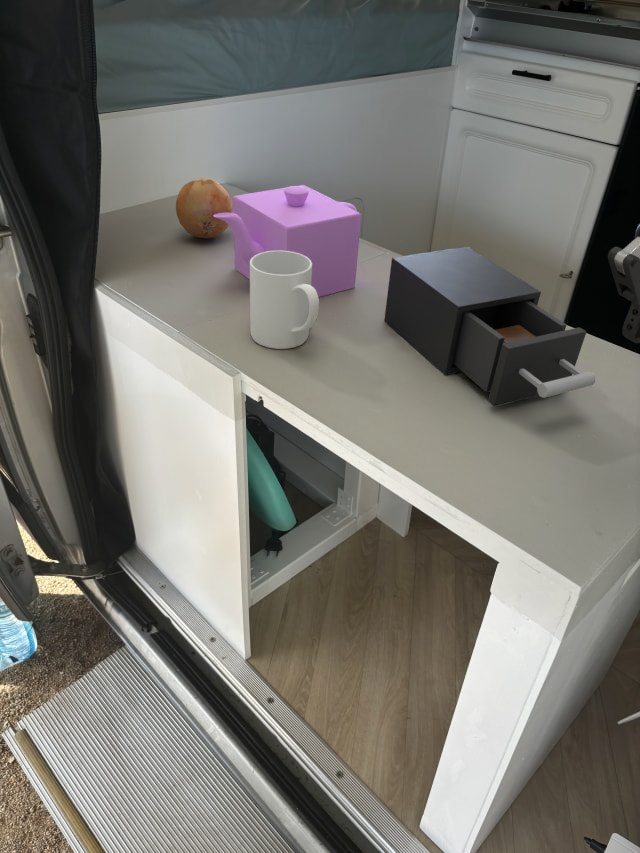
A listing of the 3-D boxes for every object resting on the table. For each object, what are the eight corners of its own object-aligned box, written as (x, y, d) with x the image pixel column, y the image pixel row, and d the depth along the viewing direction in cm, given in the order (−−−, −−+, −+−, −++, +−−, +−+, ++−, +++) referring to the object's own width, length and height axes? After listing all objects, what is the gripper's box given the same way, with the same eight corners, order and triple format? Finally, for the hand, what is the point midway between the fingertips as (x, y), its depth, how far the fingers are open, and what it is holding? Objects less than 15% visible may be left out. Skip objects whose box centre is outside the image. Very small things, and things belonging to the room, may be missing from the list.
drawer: (597, 409, 77) (619, 352, 72) (521, 431, 73) (539, 371, 68) (495, 333, 91) (508, 281, 86) (426, 348, 87) (435, 293, 82)
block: (510, 356, 84) (518, 324, 81) (534, 374, 80) (544, 341, 78) (481, 363, 82) (489, 330, 79) (504, 381, 79) (513, 348, 76)
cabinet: (523, 357, 88) (541, 291, 82) (445, 375, 83) (458, 306, 77) (456, 307, 99) (468, 246, 93) (383, 321, 94) (391, 257, 88)
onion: (223, 224, 122) (221, 168, 116) (240, 243, 115) (239, 185, 109) (172, 229, 118) (167, 172, 112) (186, 249, 111) (182, 189, 105)
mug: (240, 329, 90) (238, 256, 83) (289, 317, 93) (291, 246, 87) (286, 371, 82) (288, 294, 76) (337, 355, 85) (343, 280, 79)
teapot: (194, 277, 102) (188, 186, 94) (324, 249, 114) (329, 166, 106) (242, 317, 93) (240, 219, 84) (379, 281, 105) (389, 192, 96)
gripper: (691, 168, 48) (613, 370, 58) (804, 156, 52) (714, 345, 63) (614, 142, 53) (555, 331, 63) (723, 134, 58) (652, 311, 68)
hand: (635, 338), depth 63 cm, fingers closed
